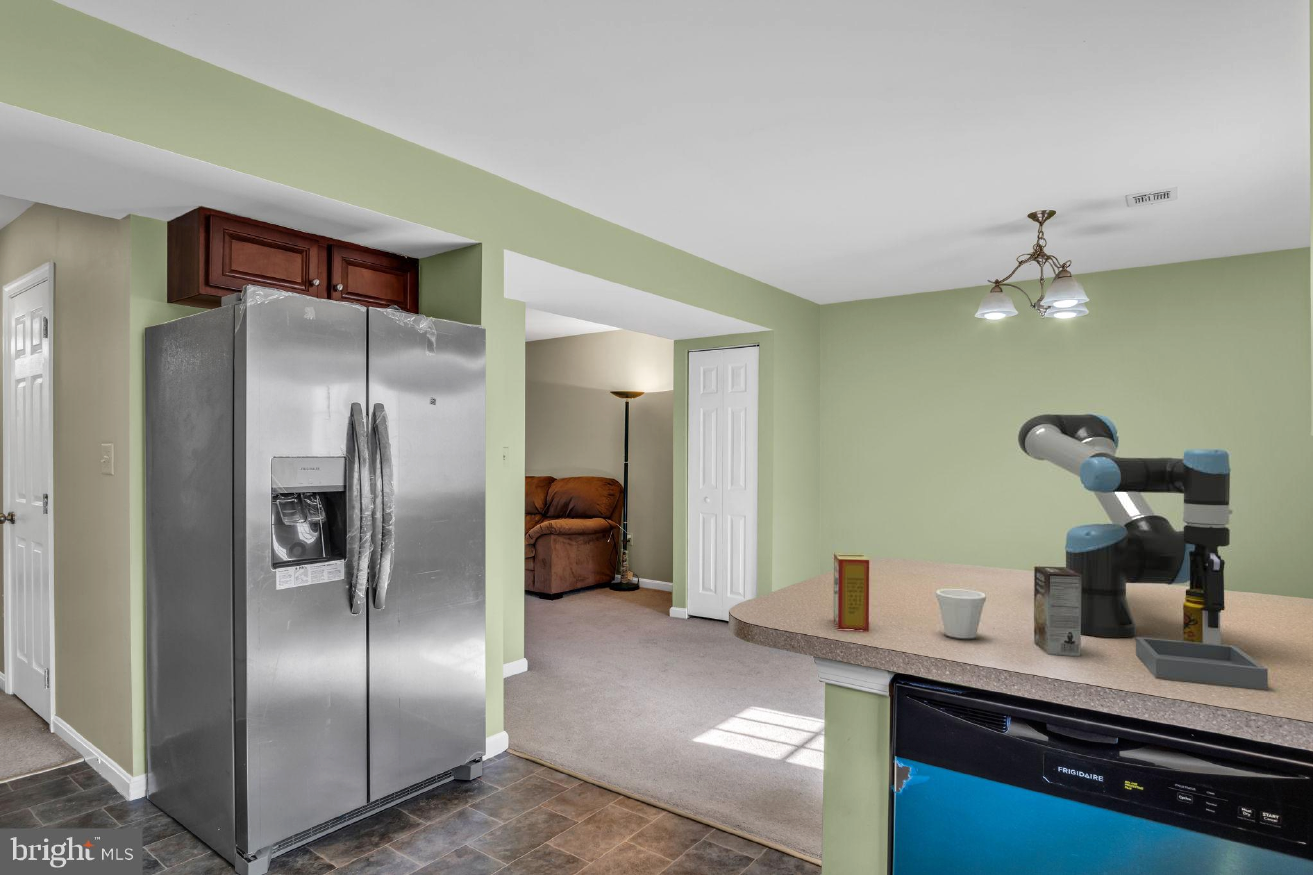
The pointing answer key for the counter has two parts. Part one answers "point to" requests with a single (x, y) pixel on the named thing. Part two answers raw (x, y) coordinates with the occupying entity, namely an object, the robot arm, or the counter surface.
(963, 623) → the cup
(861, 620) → the baking soda box
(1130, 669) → the counter surface
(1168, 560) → the robot arm
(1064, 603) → the coffee box
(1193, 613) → the condiment
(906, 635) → the counter surface
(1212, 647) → the tray
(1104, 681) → the counter surface
